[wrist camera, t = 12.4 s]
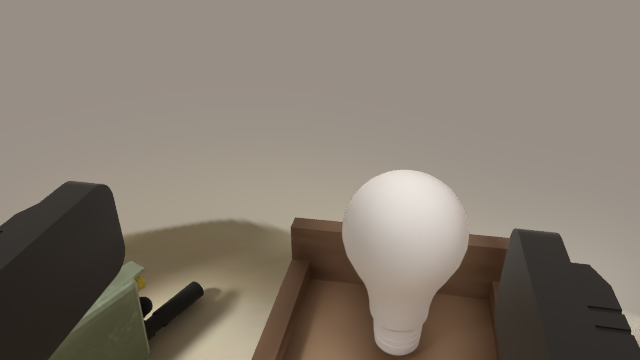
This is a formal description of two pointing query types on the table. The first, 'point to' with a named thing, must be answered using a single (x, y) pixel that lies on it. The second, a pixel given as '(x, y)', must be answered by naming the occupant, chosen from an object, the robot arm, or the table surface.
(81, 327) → the handheld radio
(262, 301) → the table surface
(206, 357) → the table surface
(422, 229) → the lightbulb
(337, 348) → the stand
